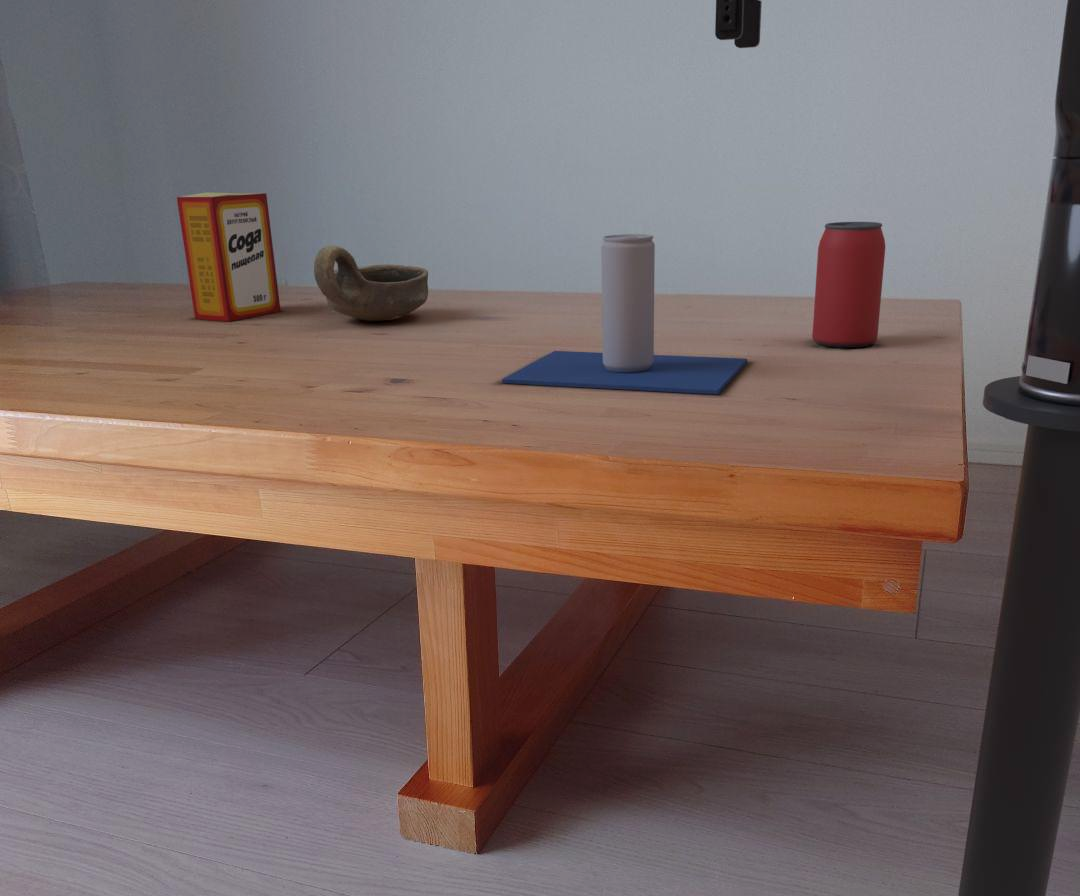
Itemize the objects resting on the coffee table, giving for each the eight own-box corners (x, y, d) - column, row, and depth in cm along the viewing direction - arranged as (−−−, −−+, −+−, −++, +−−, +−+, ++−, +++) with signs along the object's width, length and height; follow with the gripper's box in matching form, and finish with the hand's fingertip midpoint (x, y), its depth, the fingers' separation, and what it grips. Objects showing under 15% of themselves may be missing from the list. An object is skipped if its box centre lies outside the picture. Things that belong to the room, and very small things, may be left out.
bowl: (454, 314, 133) (449, 235, 129) (367, 336, 119) (359, 248, 115) (373, 309, 140) (367, 234, 136) (283, 329, 126) (272, 246, 122)
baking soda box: (247, 308, 144) (231, 190, 138) (280, 311, 141) (265, 190, 135) (195, 318, 137) (176, 194, 131) (228, 321, 133) (210, 194, 128)
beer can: (882, 339, 107) (893, 221, 103) (870, 350, 101) (881, 226, 97) (819, 336, 110) (827, 221, 105) (805, 347, 104) (812, 226, 100)
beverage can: (664, 367, 95) (665, 235, 91) (630, 376, 92) (630, 239, 88) (625, 361, 98) (625, 233, 94) (591, 369, 95) (590, 237, 91)
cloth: (747, 362, 98) (747, 358, 98) (718, 394, 86) (718, 390, 86) (554, 354, 105) (554, 350, 105) (502, 383, 93) (501, 379, 93)
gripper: (779, -209, 75) (768, 33, 81) (804, -160, 88) (793, 47, 93) (680, -194, 78) (677, 40, 84) (718, -149, 90) (712, 52, 96)
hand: (738, 43), depth 89 cm, fingers open, 8 cm apart
